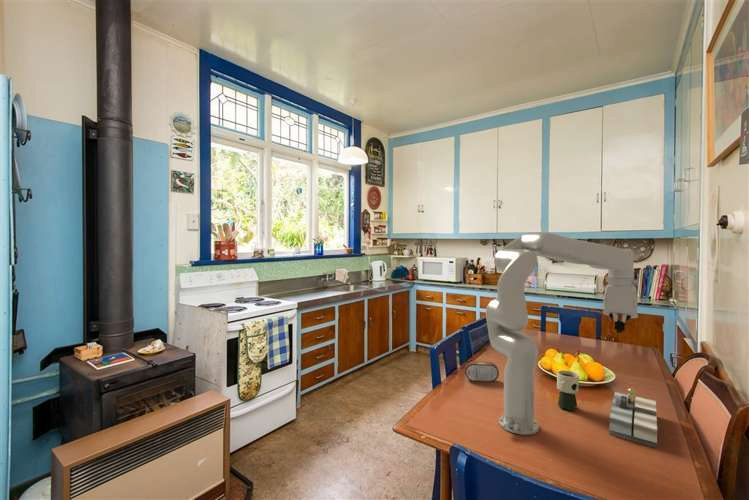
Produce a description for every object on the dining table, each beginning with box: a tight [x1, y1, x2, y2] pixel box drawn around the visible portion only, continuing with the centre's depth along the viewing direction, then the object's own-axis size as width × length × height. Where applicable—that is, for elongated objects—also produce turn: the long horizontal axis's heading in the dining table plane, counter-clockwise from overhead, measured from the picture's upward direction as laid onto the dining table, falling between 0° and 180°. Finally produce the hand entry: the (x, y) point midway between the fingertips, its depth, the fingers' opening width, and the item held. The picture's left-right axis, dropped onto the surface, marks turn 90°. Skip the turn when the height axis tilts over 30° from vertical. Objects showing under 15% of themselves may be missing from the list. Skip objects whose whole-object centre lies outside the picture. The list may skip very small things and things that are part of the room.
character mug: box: [556, 369, 580, 411], centre depth 132 cm, size 11×7×13 cm, turn 133°
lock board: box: [608, 391, 658, 449], centre depth 119 cm, size 24×12×8 cm, turn 142°
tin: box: [463, 361, 500, 383], centre depth 157 cm, size 15×3×8 cm, turn 84°
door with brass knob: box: [615, 387, 637, 409], centre depth 121 cm, size 2×6×6 cm, turn 52°
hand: (619, 331), depth 129 cm, fingers closed
